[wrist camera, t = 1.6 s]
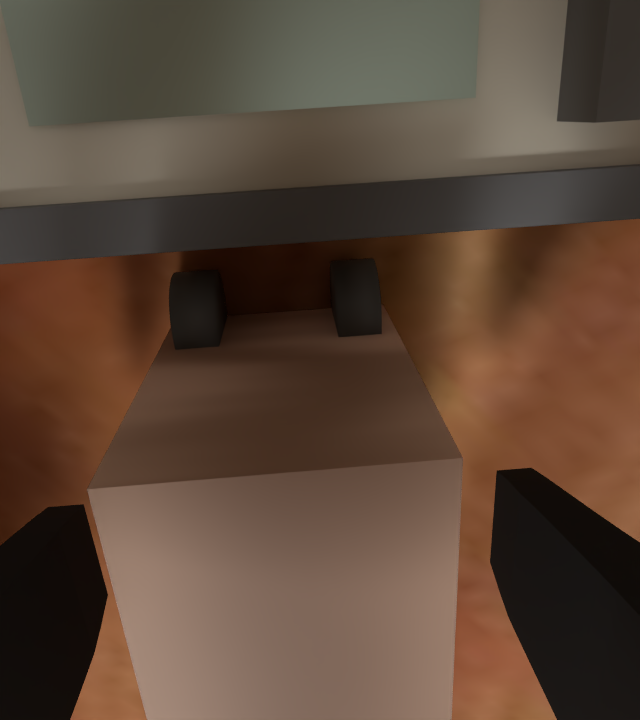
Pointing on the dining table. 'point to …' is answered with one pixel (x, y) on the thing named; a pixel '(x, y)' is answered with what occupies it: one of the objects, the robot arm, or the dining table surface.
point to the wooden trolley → (284, 515)
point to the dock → (309, 121)
